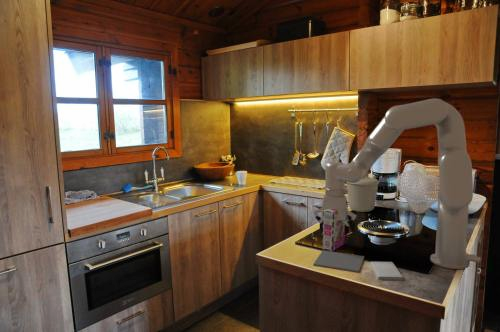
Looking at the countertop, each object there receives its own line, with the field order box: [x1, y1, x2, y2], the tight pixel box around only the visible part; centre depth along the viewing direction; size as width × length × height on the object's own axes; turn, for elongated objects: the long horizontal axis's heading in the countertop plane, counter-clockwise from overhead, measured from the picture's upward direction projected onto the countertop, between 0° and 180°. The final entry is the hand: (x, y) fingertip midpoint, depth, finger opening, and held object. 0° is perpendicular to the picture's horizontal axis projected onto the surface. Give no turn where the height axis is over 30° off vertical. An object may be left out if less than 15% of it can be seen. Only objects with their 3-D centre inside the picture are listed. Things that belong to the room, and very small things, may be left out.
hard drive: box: [369, 261, 404, 281], centre depth 127 cm, size 2×8×12 cm
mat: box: [313, 249, 365, 273], centre depth 136 cm, size 16×14×1 cm
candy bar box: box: [322, 209, 346, 252], centre depth 150 cm, size 11×5×16 cm, turn 141°
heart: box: [396, 170, 440, 215], centre depth 194 cm, size 28×16×22 cm, turn 10°
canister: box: [345, 173, 380, 213], centre depth 204 cm, size 18×18×21 cm
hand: (334, 233), depth 150 cm, fingers open, 9 cm apart
